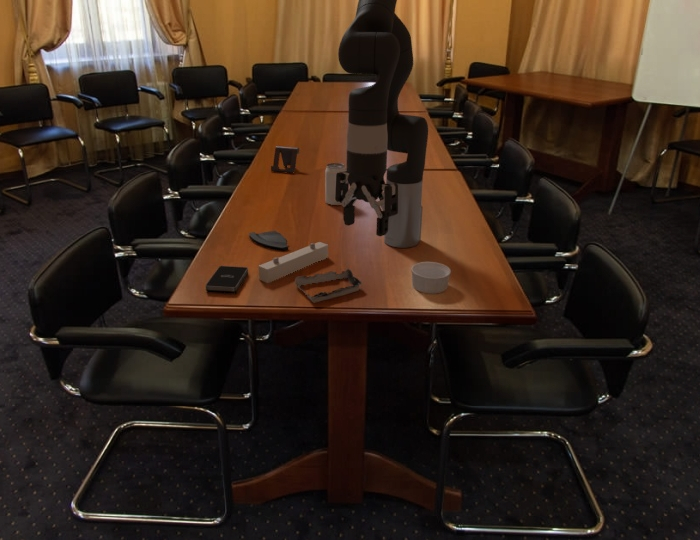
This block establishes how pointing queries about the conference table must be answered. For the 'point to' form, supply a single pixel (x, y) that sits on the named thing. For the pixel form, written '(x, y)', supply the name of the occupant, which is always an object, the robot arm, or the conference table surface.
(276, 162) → the portable electronic device stand
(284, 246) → the fan shaped piece
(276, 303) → the conference table surface
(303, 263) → the grey toothed bar
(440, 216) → the conference table surface
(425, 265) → the ramekin
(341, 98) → the conference table surface
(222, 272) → the external hard drive
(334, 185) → the can
